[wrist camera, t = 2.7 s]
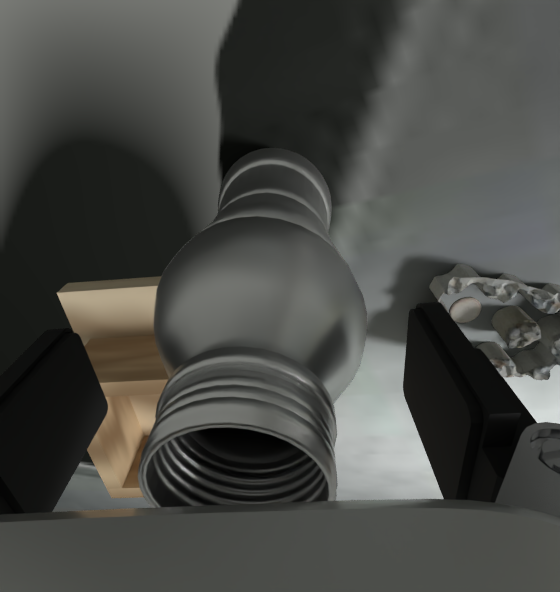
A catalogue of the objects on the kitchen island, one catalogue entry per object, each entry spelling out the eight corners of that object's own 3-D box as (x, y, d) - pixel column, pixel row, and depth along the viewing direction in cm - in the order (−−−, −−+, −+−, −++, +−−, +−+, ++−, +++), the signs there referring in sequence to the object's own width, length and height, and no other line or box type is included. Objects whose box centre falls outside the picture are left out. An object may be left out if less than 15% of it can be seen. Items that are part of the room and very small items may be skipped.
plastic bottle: (290, 117, 22) (280, 254, 4) (347, 212, 25) (479, 530, 7) (204, 180, 24) (-35, 447, 6) (266, 262, 26) (215, 608, 9)
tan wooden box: (67, 282, 28) (10, 334, 22) (255, 269, 27) (245, 319, 21) (141, 460, 37) (114, 527, 32) (281, 455, 36) (279, 523, 31)
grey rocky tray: (398, 334, 30) (413, 368, 26) (444, 248, 26) (468, 274, 22) (520, 365, 31) (550, 402, 27) (581, 287, 27) (624, 318, 23)
